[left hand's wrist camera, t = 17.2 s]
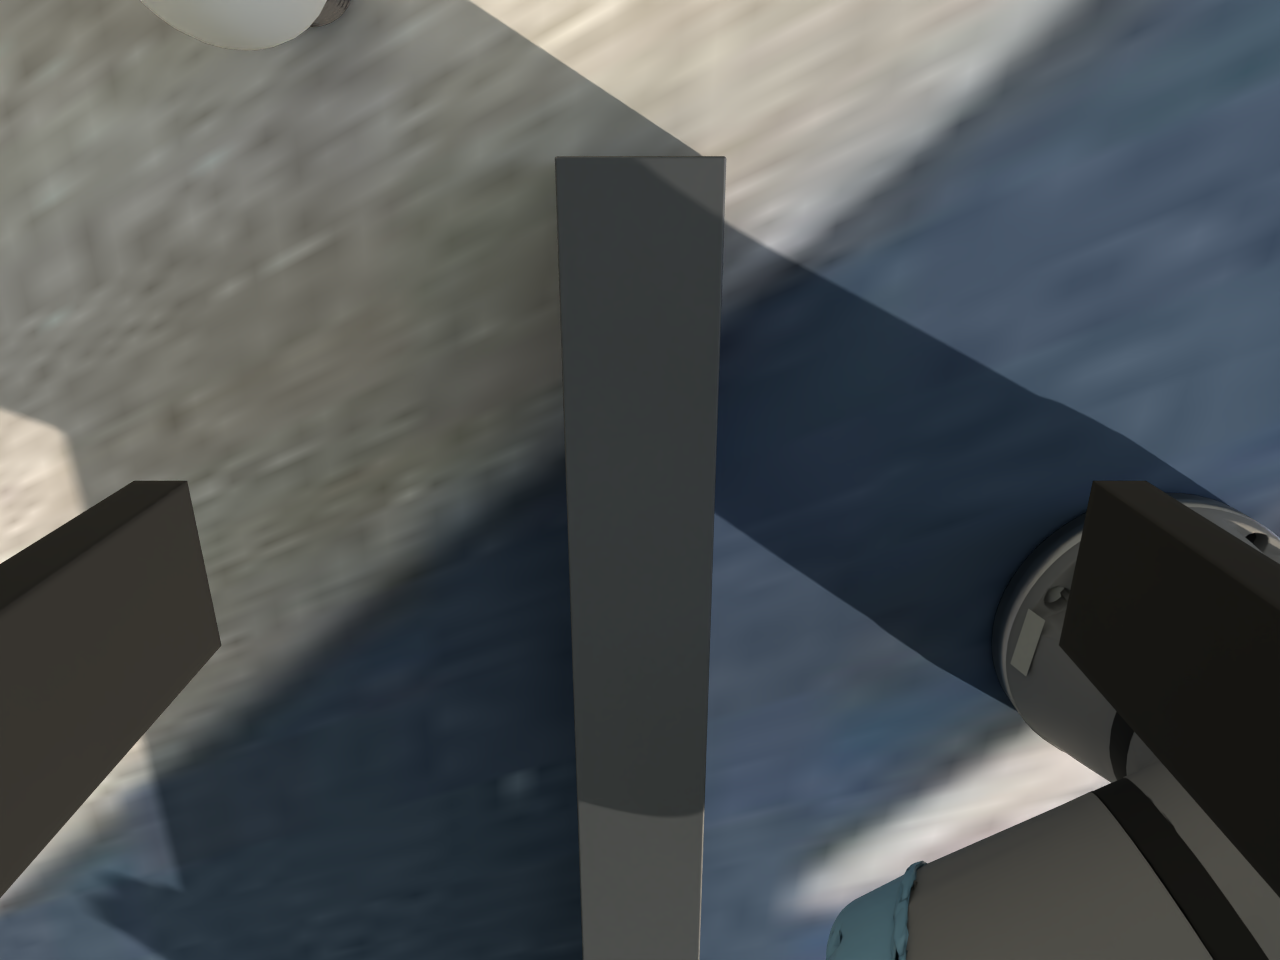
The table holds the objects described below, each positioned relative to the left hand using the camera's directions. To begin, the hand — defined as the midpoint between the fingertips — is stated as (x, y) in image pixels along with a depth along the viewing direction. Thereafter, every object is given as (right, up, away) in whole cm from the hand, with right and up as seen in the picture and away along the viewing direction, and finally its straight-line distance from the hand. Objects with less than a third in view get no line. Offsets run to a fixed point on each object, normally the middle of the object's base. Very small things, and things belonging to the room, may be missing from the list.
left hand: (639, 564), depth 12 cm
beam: (0, -16, +36) cm, 39 cm away
